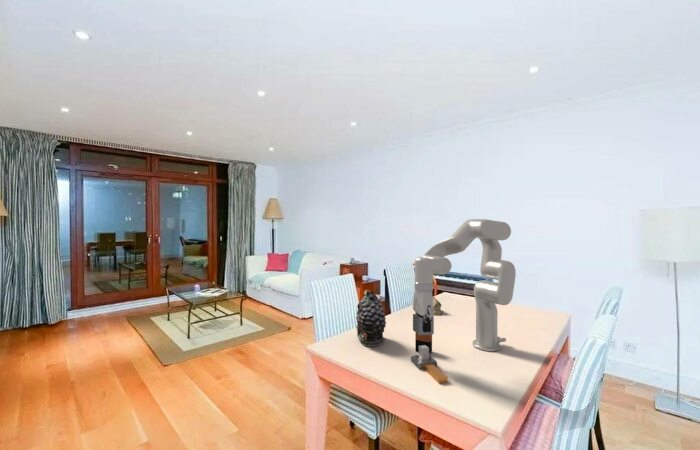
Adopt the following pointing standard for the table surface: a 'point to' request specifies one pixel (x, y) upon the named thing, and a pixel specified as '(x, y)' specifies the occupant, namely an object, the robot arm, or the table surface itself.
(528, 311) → the table surface
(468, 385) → the table surface
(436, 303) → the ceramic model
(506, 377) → the table surface
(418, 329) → the hollow square tube
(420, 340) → the battery
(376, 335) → the dark pine cone
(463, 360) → the table surface
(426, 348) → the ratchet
